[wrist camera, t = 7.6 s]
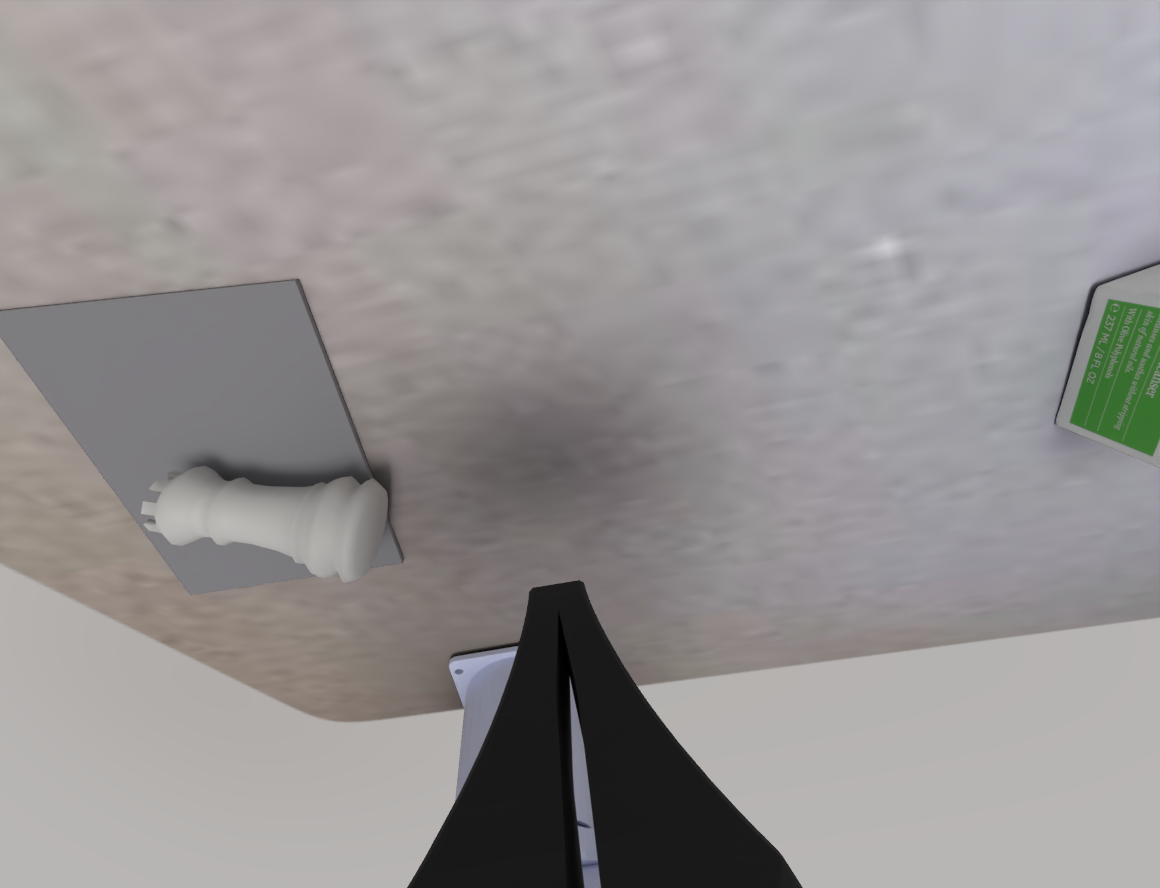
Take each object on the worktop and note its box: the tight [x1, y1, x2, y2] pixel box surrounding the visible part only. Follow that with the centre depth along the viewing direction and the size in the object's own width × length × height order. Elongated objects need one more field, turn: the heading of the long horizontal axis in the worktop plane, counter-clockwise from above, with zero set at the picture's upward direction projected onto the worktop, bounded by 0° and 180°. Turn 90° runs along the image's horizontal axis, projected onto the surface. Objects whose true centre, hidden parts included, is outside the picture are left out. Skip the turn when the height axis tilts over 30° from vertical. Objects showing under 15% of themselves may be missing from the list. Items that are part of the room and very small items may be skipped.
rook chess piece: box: [141, 466, 388, 583], centre depth 18 cm, size 4×4×8 cm
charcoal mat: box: [0, 279, 404, 595], centre depth 19 cm, size 14×10×1 cm
